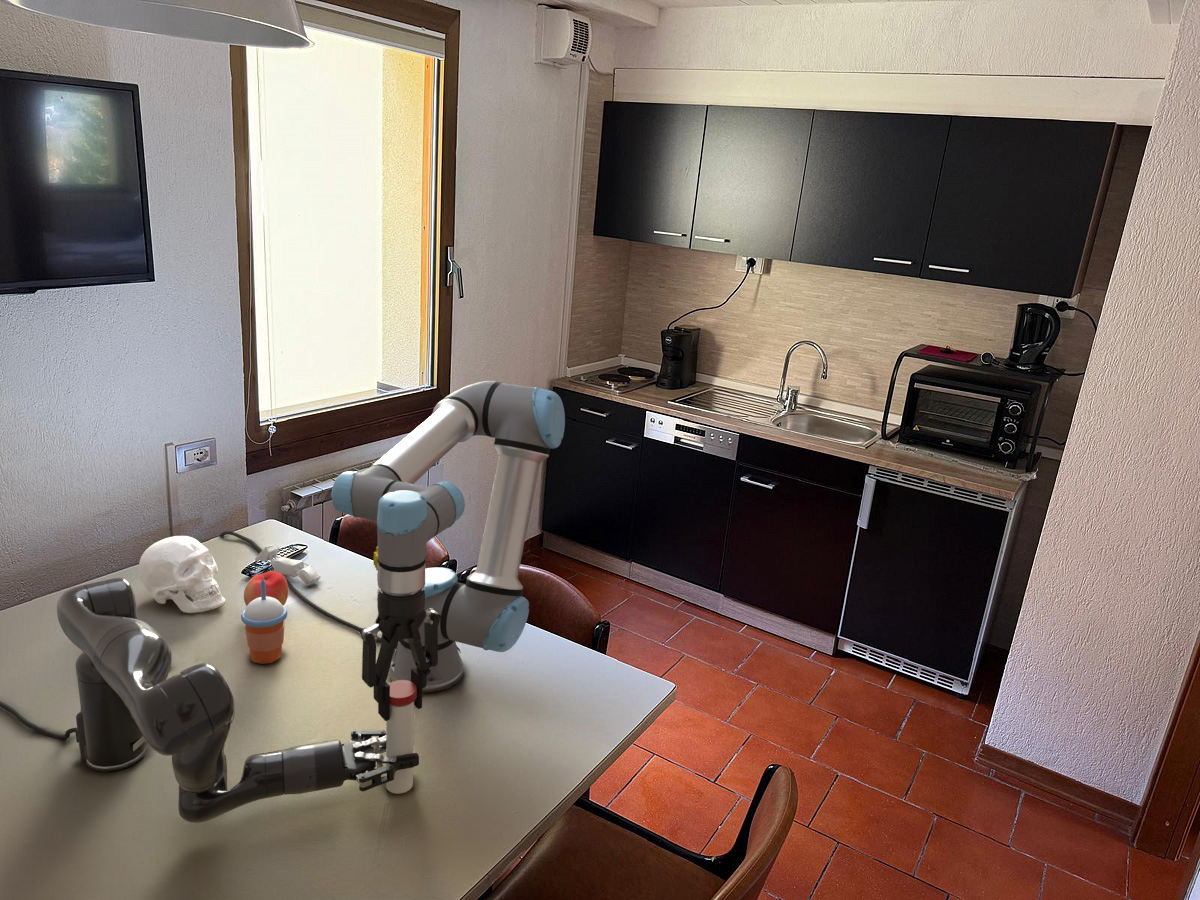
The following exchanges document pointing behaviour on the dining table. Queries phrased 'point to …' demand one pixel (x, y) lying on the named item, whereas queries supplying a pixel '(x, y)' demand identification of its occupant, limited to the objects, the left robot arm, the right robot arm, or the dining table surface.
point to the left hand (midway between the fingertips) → (415, 749)
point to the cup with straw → (264, 627)
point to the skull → (181, 574)
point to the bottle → (400, 744)
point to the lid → (402, 692)
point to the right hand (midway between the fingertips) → (400, 710)
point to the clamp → (288, 565)
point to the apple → (267, 587)
